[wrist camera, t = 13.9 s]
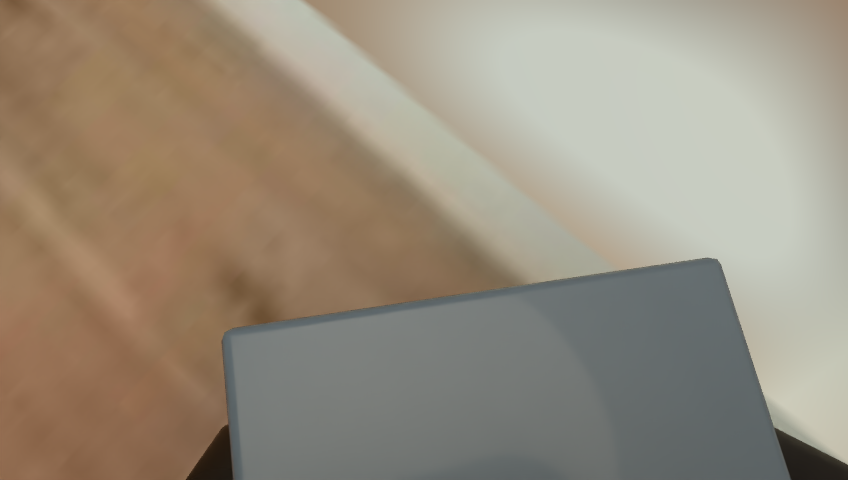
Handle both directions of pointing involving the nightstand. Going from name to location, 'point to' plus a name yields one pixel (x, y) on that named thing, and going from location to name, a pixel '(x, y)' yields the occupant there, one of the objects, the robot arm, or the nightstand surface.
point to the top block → (509, 386)
